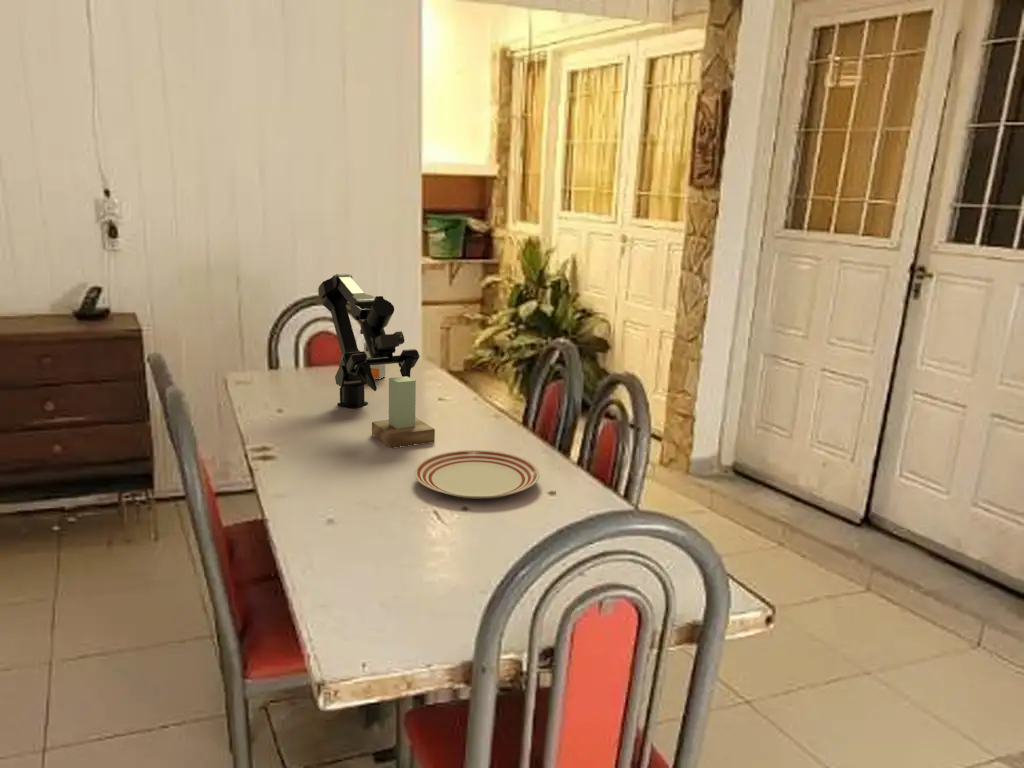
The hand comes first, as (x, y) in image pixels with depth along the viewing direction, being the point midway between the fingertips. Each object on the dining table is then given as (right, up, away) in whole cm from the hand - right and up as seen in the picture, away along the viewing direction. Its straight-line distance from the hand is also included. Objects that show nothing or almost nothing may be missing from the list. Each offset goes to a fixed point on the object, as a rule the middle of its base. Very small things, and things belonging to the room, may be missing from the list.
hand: (392, 388), depth 211 cm
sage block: (+3, -9, -4) cm, 10 cm away
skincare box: (-14, +3, +59) cm, 60 cm away
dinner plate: (+23, -21, -31) cm, 44 cm away
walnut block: (+3, -13, -2) cm, 14 cm away
